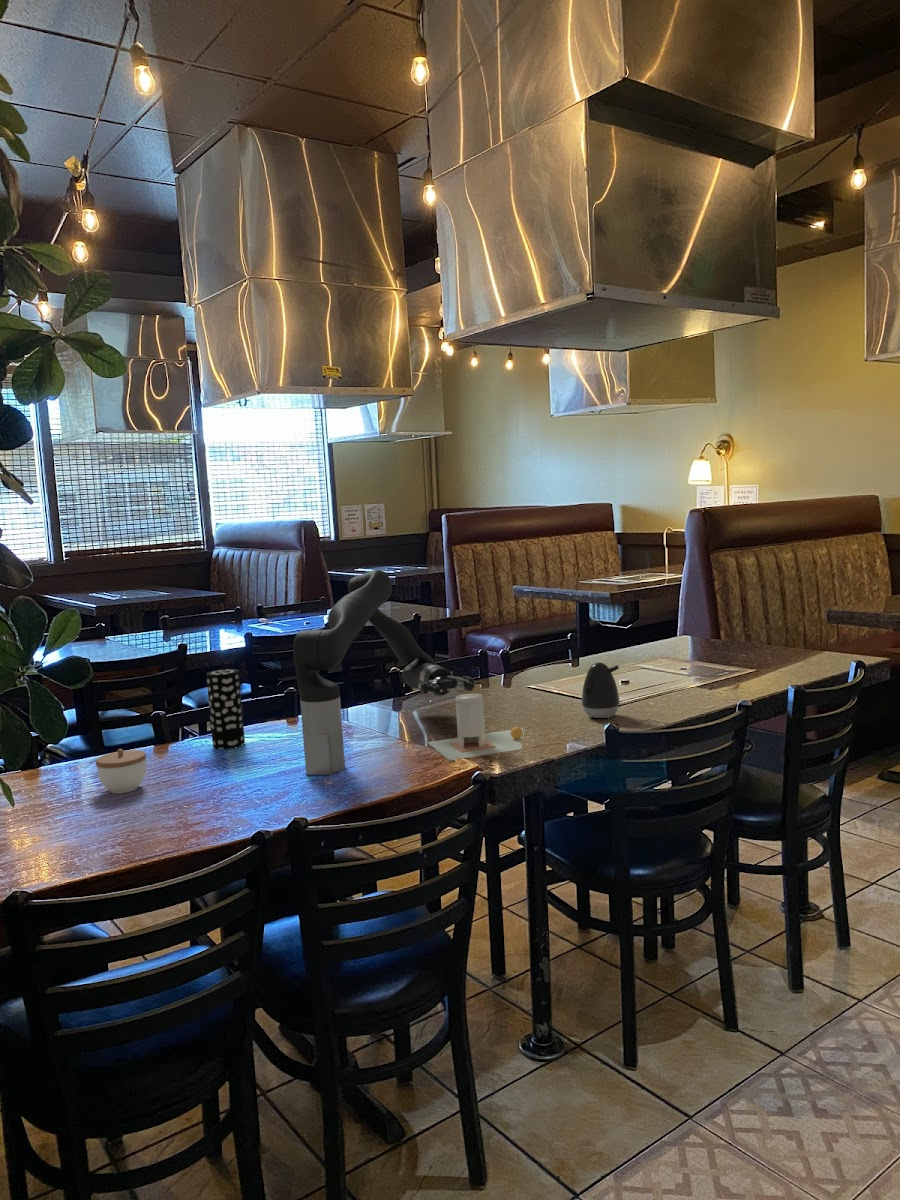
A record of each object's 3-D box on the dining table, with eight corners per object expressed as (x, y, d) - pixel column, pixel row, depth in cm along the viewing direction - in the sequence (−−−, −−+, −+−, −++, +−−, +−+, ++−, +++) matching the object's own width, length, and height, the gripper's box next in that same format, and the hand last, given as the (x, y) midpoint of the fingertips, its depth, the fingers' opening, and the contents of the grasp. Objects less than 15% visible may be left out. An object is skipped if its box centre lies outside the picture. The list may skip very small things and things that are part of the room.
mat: (535, 728, 232) (535, 725, 232) (564, 744, 215) (564, 741, 215) (427, 743, 222) (427, 741, 222) (449, 762, 205) (449, 759, 205)
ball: (521, 740, 219) (521, 728, 218) (510, 740, 219) (509, 728, 219) (523, 737, 222) (522, 725, 221) (511, 737, 222) (511, 725, 222)
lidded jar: (91, 791, 200) (87, 751, 199) (136, 779, 207) (132, 740, 206) (111, 800, 192) (106, 759, 191) (157, 787, 200) (153, 747, 199)
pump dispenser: (618, 722, 233) (615, 666, 231) (579, 721, 236) (576, 666, 235) (623, 712, 242) (621, 659, 241) (586, 712, 246) (583, 659, 244)
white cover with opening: (489, 745, 215) (486, 697, 213) (463, 749, 213) (460, 700, 211) (480, 739, 221) (477, 692, 220) (454, 743, 219) (451, 695, 218)
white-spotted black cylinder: (250, 741, 236) (244, 668, 234) (235, 750, 228) (228, 675, 226) (223, 741, 238) (216, 669, 236) (207, 749, 230) (200, 675, 228)
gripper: (410, 668, 238) (427, 677, 223) (459, 663, 243) (479, 671, 227) (412, 695, 239) (429, 706, 224) (461, 690, 243) (481, 700, 228)
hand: (454, 688), depth 225 cm, fingers open, 8 cm apart
